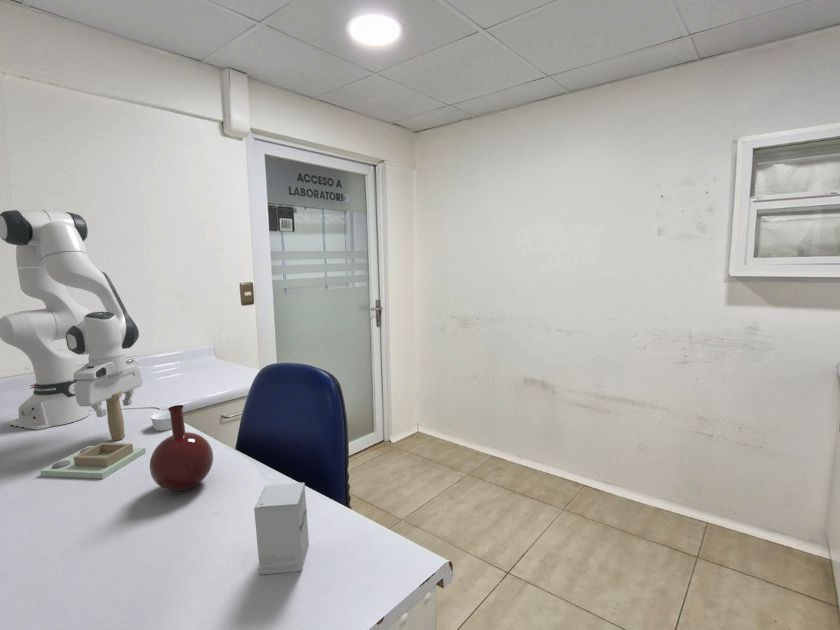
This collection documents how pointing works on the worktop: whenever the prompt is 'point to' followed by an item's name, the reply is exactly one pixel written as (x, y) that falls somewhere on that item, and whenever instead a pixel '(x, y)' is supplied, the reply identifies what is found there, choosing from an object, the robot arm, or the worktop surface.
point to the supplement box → (281, 528)
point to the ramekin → (161, 420)
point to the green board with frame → (94, 461)
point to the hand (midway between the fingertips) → (115, 410)
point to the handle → (115, 417)
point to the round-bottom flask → (180, 456)
